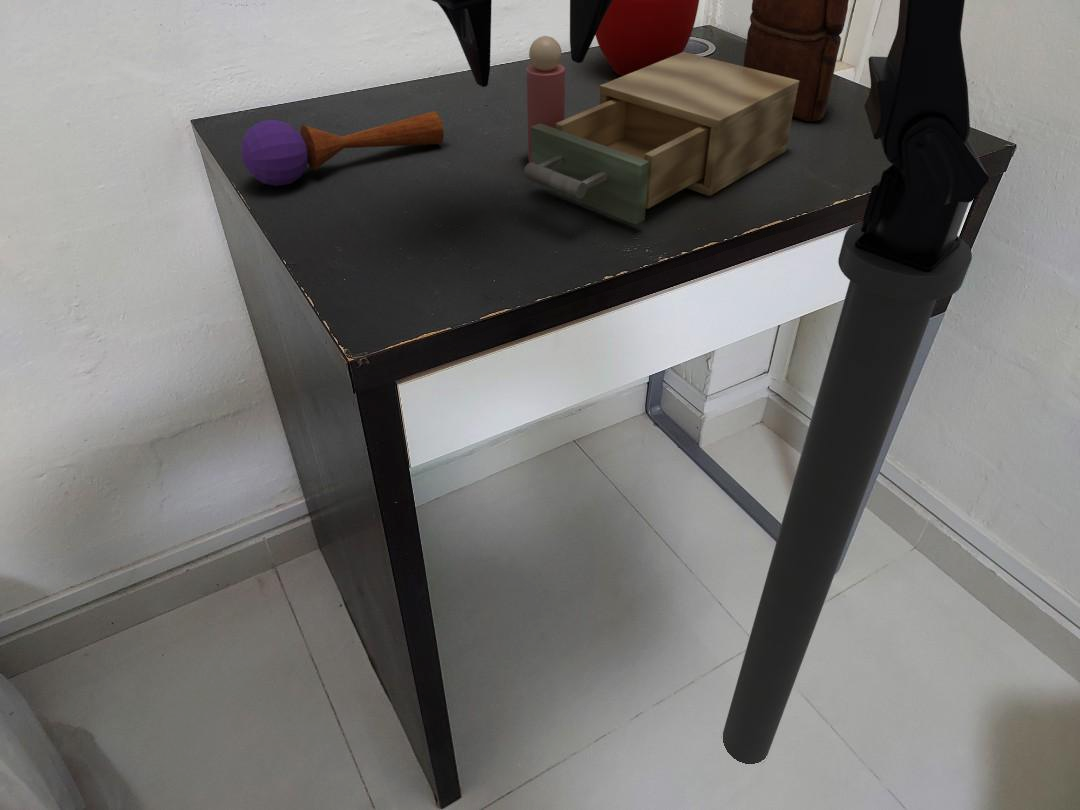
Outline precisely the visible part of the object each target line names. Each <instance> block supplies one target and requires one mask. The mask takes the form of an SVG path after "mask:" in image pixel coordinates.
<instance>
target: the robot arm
mask: <svg viewBox="0 0 1080 810" xmlns="http://www.w3.org/2000/svg"><path fill="white" fill-rule="evenodd" d="M431 1H432V2H435V3H437V5H438V6H439V7H440V9H442V11H443V12H444V14H445V16H446V18H447V19H448V21H449V23H450V25H451V27H452V29H453V30H454V33H455V35H456V37H457V40H458V42H459V45H460V47H461V49H462V52H463V54H464V57H465V59H466V61H467V64H468V66H469V69H470V71H471V73H472V76H473V78H474V80H475V83H476V84H477V85H478V86H479V87H482V88H485V87H488V85H489V79H490V73H491V50H492V49H491V48H492V45H491V42H492V2H493V1H492V0H431ZM612 1H613V0H569V47H570V58H571V60H572V61H573V62H574V63H576V64H580V63H583V62H584V60H585V58H586V56H587V54H588V51H589V50H590V48H591V45H592V43H593V41H594V39H595V38H596V32H597V30H598V28H599V26H600V24H601V22H602V20H603V18H604V16H605V14H606V12H607V10H608V8H609V6H610V4H611V3H612ZM965 1H966V0H899V6H898V7H899V8H898V22H897V29H896V32H895V35H894V38H893V42H892V44H891V46H890V49H889V51H888V54H887V56H874V55H873V56H869V57H868V59H867V60H868V70H869V77H870V87H869V92H868V97H867V99H866V100H865V103H864V111H865V113H866V116H867V120H868V123H869V126H870V130H871V133H872V136H873V139H874V140H880V142H881V147H882V150H883V153H884V155H885V157H886V160H887V161H888V162H889V163H891V165H890V166H889V167H887V168H886V169H884V170H883V171H882V173H881V178H880V180H879V181H878V182H877V183H876V184H875V185H873V186H872V187H871V190H870V193H869V197H868V201H867V203H866V208H865V210H864V211H865V212H864V215H863V219H862V221H863V222H862V226H861V231H862V232H864V233H865V234H863V235H862V236H861V237H860V238H858V239H857V240H856V242H855V247H856V248H859V249H861V250H864V251H867V252H870V253H872V254H875V255H878V256H881V257H884V258H886V259H889V260H892V261H895V262H898V263H900V264H903V265H906V266H909V267H912V268H914V269H917V270H920V271H923V272H931V271H933V270H934V269H935V268H936V267H937V266H938V265H939V264H940V263H941V262H942V261H943V260H944V259H946V258H947V257H948V256H949V255H950V254H951V253H952V252H953V251H954V250H955V249H956V248H957V247H958V246H959V245H960V243H961V239H962V238H961V237H960V238H961V239H960V238H958V237H959V236H958V234H959V231H960V229H961V226H962V223H963V220H964V218H965V215H966V212H967V210H968V207H969V204H970V203H972V202H973V201H974V200H975V198H976V197H977V196H978V195H979V194H980V192H981V191H982V190H983V188H984V187H985V186H986V185H987V184H988V183H989V181H990V177H989V174H988V173H987V171H986V169H985V167H984V165H983V163H982V162H981V160H980V158H979V156H978V154H977V152H976V150H975V148H974V146H973V145H972V143H971V140H970V138H969V136H970V131H971V121H970V120H971V119H970V105H969V104H970V101H969V87H968V80H967V74H966V67H965V60H964V59H965V58H964V53H963V46H962V27H963V26H962V25H963V18H964V10H965ZM957 236H958V237H957Z"/></svg>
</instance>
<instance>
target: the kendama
mask: <svg viewBox="0 0 1080 810" xmlns="http://www.w3.org/2000/svg"><path fill="white" fill-rule="evenodd" d="M444 131H445V130H444V125H443V121H442V118H441V116H440V115H439V113H438V112H437V111H436V110H432V111H428V112H425V113H422V114H417V115H415V116H410V117H406V118H403V119H399V120H396V121H393V122H389V123H385V124H381V125H379V126H375V127H371V128H368V129H364V130H361V131H357V132H354V133H351V134H347V135H343V136H341V135H337V134H335V133H331V132H328V131H325V130H322V129H318V128H315V127H312V126H309V125H305V124H303V125H301V127H300V131H298V130H297V129H296V128H294V127H293V126H292V125H290V124H289V123H288V122H286V121H281V120H278V119H267V120H262V121H259V122H257V123H256V124H254V125H253V126H251V127H250V128H248V129H247V131H246V132H245V134H244V136H243V138H242V140H241V148H240V156H241V157H240V158H241V161H242V163H243V165H244V166H245V168H246V170H247V172H248V173H249V174H250V175H251V177H253V178H254V179H256V180H257V181H259V182H260V183H261V184H264V185H268V186H273V187H281V186H285V185H291V184H293V183H294V182H295V181H297V180H299V179H300V178H301V177H302V176H303V174H304V172H305V170H306V168H307V166H308V167H309V169H311V170H312V171H316V170H317V169H319V168H320V167H321V166H323V165H324V164H326V162H328V161H330V159H332V158H333V157H335V156H336V155H337V154H338V153H340V152H341V151H342V150H344V149H357V148H358V149H359V148H360V149H361V148H379V147H381V148H382V147H403V146H427V145H441V144H442V142H443V141H444V137H445V136H444V135H445V133H444Z"/></svg>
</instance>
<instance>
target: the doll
mask: <svg viewBox="0 0 1080 810" xmlns="http://www.w3.org/2000/svg"><path fill="white" fill-rule="evenodd" d="M528 51H529V52H528V57H529V60H530V63H531V65H528V66H527V67H526V68H525V69H526V70H525V72H526V108H527V111H526V113H527V147H528V148H527V151H528V154H527V155H528V163H530V162H532V159H531V127H532V126H534V125H537V124H539V123H540V124H543V125H546V126H549V127H552V128H555V129H556V123H558V122H560V121H562V120H565V119H566V118H565V114H566V113H565V112H566V110H565V109H566V107H565V104H566V103H565V100H566V99H565V96H566V91H565V90H566V84H565V83H566V81H565V79H566V78H565V77H566V68H565V66H563V64H560V63H561V60H562V48H561V45H560V43H559V42H558V40H556V39H555V37H554V38H553V37H552V36H550V35H549V36H548V35H543V36H539V37H538V38H536V39H534V40H533V42H532V43H531V45H530V47H529V50H528Z"/></svg>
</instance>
